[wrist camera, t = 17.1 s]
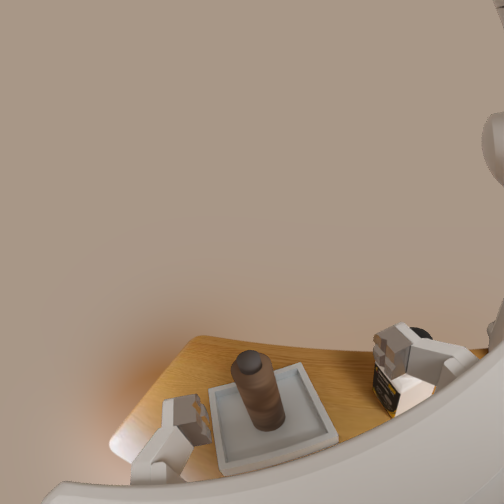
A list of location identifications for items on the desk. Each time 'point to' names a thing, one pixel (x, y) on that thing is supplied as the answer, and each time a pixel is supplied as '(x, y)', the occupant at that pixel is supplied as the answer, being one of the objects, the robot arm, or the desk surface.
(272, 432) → the pale dish
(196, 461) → the desk surface
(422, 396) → the medicine bottle
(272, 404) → the walnut pepper mill
